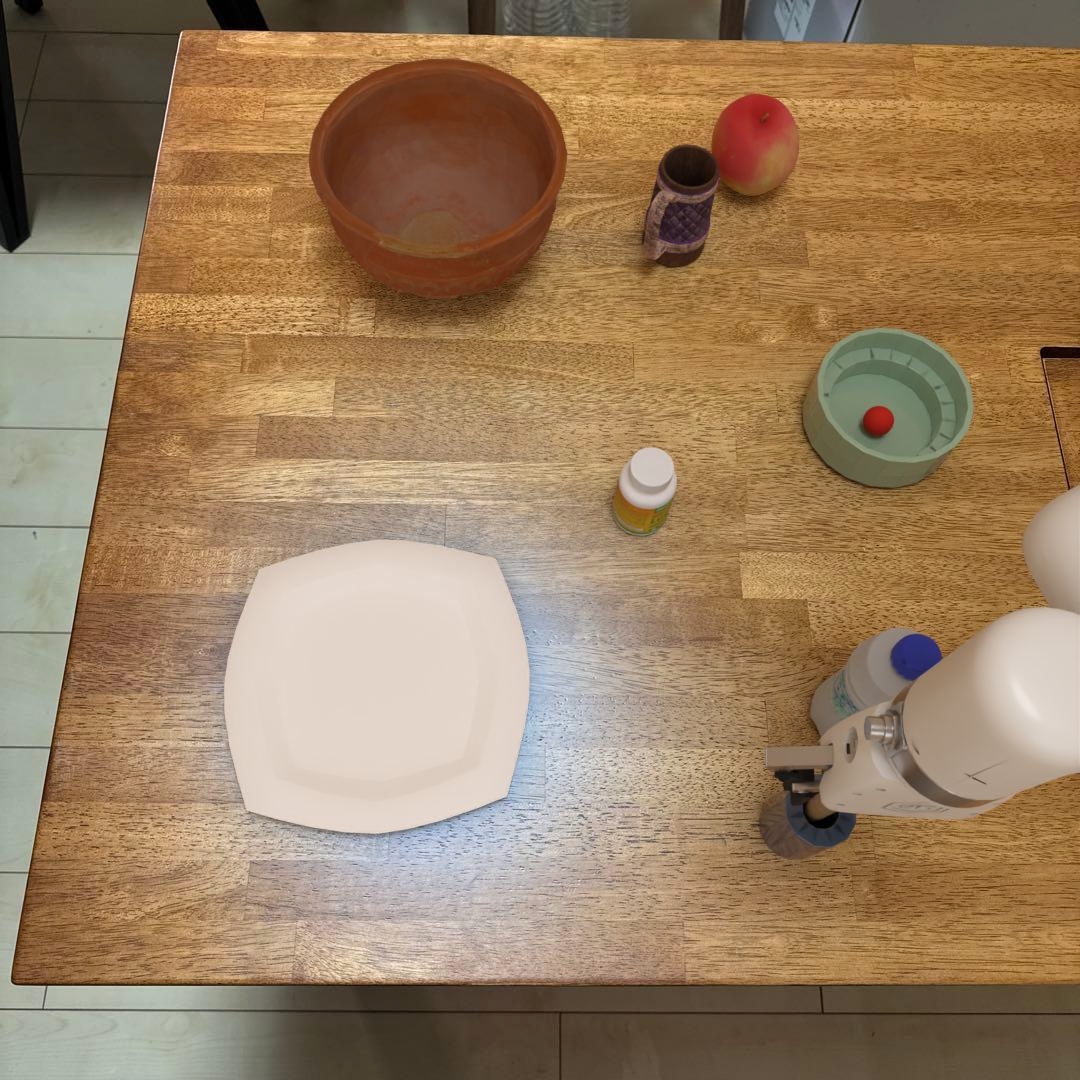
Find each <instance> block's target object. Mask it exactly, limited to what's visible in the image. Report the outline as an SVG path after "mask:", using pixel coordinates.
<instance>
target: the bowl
mask: <svg viewBox="0 0 1080 1080" xmlns="http://www.w3.org/2000/svg"><path fill="white" fill-rule="evenodd" d="M567 161H568V151H567V145H566V140H565V137H564V133H563V128H562V126H561V124H560V122H559V120H558V118H557V116H556V114H555V112H554V110H553V109H552V108H551V107H550V106H549V104H548V103H547V102H546V101H545V100H544V98H543V97H542V96H541V95H540V93H538V92H537V90H536V91H535V90H534V89H533V88H532V87H530V86H529V85H528V84H527V83H525V82H524V81H523V80H521V79H520V78H518V77H515V76H513V75H511V74H509V73H507V72H505V71H503V70H501V69H498V68H495V67H493V66H490V65H487V64H485V63H480V62H475V61H470V60H465V59H460V58H459V59H458V58H426V59H420V60H414V61H408V62H407V61H406V62H402V63H401V62H399V63H395V64H391V65H389V66H386V67H383V68H380V69H377V70H374V71H373V72H371V73H369V74H367V75H366V76H364V77H362V78H360V79H358V80H356V81H354V82H353V83H351V84H349V85H348V86H347V87H346V88H344V89H343V91H341V92H340V93H339V94H338V95H337V96H336V97H334V99H333V100H332V101H331V103H330V104H329V105H328V106H327V107H326V108H325V110H324V111H323V112H322V114H321V116H320V118H319V121H318V122H317V124H316V125H315V128H314V130H313V131H312V136H311V141H310V147H309V153H308V168H309V174H310V179H311V181H312V184H313V186H314V190H315V192H316V195H318V197H319V199H320V200H321V201H320V202H322V204H323V205H324V206H325V208H326V209H327V212H328V215H329V217H330V223H331V226H332V227H333V231H334V232H335V234H336V235H337V237H338V238H339V239H340V242H341V243H342V245H343V247H344V248H345V249H346V250H347V252H348V253H349V254H350V256H351V257H352V258H353V259H354V260H355V262H356V263H357V265H358V266H360V267H361V268H362V269H363V270H364V271H365V272H366V273H367V274H368V275H369V276H371V277H373V278H375V279H376V280H377V281H379V282H381V283H382V284H383V285H385V286H387V287H388V288H391V289H393V290H395V292H398V293H401V294H402V293H404V292H406V293H410V294H413V295H416V296H419V297H420V298H430V299H435V300H449V301H450V300H456V299H458V298H459V297H460V296H472V295H475V294H479V293H482V292H484V291H487V290H490V289H494V288H495V287H498V286H500V285H502V284H504V283H505V282H507V280H508V279H513V277H515V276H517V274H518V273H519V272H521V270H522V269H523V268H524V267H525V266H526V265H528V263H529V262H530V260H531V259H532V257H533V256H534V255H535V254H536V253H537V252H538V250H539V249H540V247H541V246H542V245H543V243H544V240H545V238H546V237H547V234H548V232H549V231H550V229H551V228H550V227H551V226H552V223H553V220H554V214H555V212H556V207H557V206H556V205H557V197H558V195H559V193H560V191H561V189H562V186H563V184H564V180H565V177H566V172H567V171H566V169H567Z"/></svg>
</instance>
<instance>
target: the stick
mask: <svg viewBox="0 0 1080 1080" xmlns="http://www.w3.org/2000/svg"><path fill="white" fill-rule="evenodd" d="M835 812H837V811H833V810H830V809H828V808H827V807H825V806H824V805H823V804H822V803H821V798H820V792H819V793H818V794H816V795H815V797H814V798H812V799H810V800H809V801H807V802H805V803H804V804H803V814H804V816H805V818H806V820H807V821H808V823H809V824H813V823H815V822H817V821H819V820H821V819H823V818H825V817H827V816H829V815H831V814H833V813H835Z"/></svg>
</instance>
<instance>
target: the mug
mask: <svg viewBox="0 0 1080 1080" xmlns="http://www.w3.org/2000/svg"><path fill="white" fill-rule="evenodd" d="M719 179H720V176H719V165H718V162H717V159H716V158H715V157H714V156H713V154H712V152H710V151H709V150H708V149H706V148H705V147H701V146H699V145H696V144H678V145H676V146H674V147H673V146H672V147H670V149H668V150H667V151H666V152H665V153H664V154H663V156H662V158H661V160H660V162H659V164H658V167H657V170H656V178H655V183H654V186H653V191H652V195H651V198H650V201H649V205H648V207H647V209H646V212H645V216H644V220H643V231H642V237H641V242H642V254H644V256H645V257H646V258H647V259H649V260H653V261H655V262H657V263H659V264H662V265H665V266H669V267H681V266H686V265H690V264H691V263H694V262H695V261H696V260H697V259H699V257H700V256H701V255H702V254H703V253H702V252H703V251H704V248H705V243H706V240H707V239H708V236H709V232H710V228H711V216H712V215H711V214H712V209H713V205H714V201H715V196H716V191H717V188H718V185H719Z"/></svg>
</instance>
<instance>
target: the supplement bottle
mask: <svg viewBox="0 0 1080 1080" xmlns="http://www.w3.org/2000/svg"><path fill="white" fill-rule="evenodd" d="M677 488H678V477H677V473H676V471H675V464H674V461H673V459H672V457H671V455H669V453H667V452H666V451H664V450H663V449H661V448H659V447H655V446H654V447H653V446H652V447H651V446H650V447H644V448H640V449H639V450H638V451H636V452H635V453H634V455H632V457H631V458H630V459H629V460H628V461H627V462H625V464H624V465H623V466H622V468H621V470H620V472H619V476H618V480H617V484H616V489H615V494H614V497H613V502H612V509H611V510H612V511H611V512H612V516H613V519H614V521H615V524H616V525H618V527H619V528H620V529H621V530H622V531H624V532H625V533H628V534H630V535H632V536H637V537H645V536H649V535H652V534H654V533H656V532H657V531H659V530H660V529H661V528H662V527H663V526H664V524H665V522H666V520H667V517H668V515H669V513H670V510H671V507H672V504H673V501H674V497H675V495H676V493H677Z"/></svg>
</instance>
